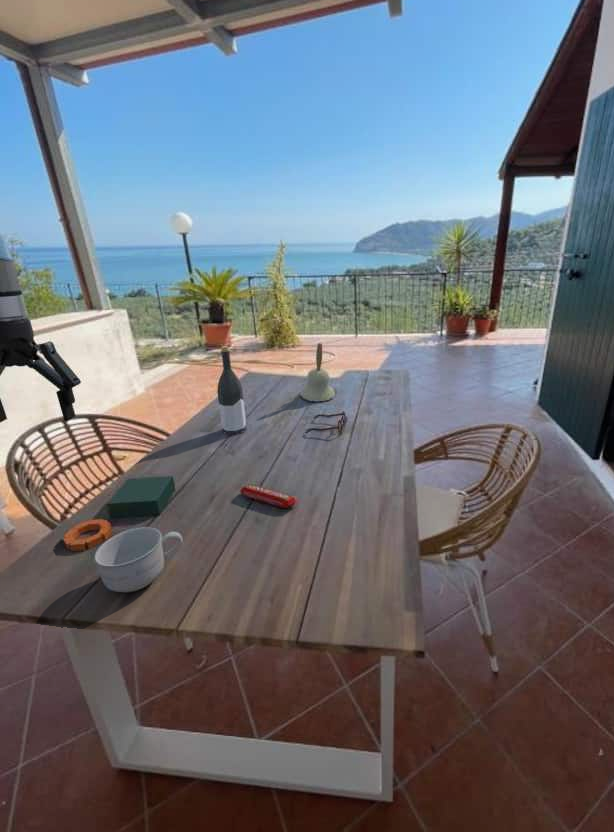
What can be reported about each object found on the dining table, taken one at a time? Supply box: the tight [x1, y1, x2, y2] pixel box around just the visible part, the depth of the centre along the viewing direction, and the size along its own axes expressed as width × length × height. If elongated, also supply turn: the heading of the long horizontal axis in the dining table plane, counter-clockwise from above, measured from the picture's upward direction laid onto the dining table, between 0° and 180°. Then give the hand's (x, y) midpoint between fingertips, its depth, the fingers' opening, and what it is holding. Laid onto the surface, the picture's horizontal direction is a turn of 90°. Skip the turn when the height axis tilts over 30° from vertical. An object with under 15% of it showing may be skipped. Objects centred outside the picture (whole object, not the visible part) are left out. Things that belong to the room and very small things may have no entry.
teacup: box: [94, 526, 184, 593], centre depth 72 cm, size 14×11×8 cm
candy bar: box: [239, 483, 298, 509], centre depth 96 cm, size 16×4×3 cm, turn 65°
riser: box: [106, 475, 176, 519], centre depth 95 cm, size 11×11×4 cm
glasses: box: [304, 410, 347, 435], centre depth 137 cm, size 13×13×5 cm
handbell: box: [299, 342, 336, 402], centre depth 164 cm, size 15×15×25 cm
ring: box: [62, 518, 113, 552], centre depth 84 cm, size 8×8×2 cm
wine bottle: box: [216, 345, 247, 435], centre depth 132 cm, size 8×8×30 cm
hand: (35, 420), depth 82 cm, fingers open, 13 cm apart
